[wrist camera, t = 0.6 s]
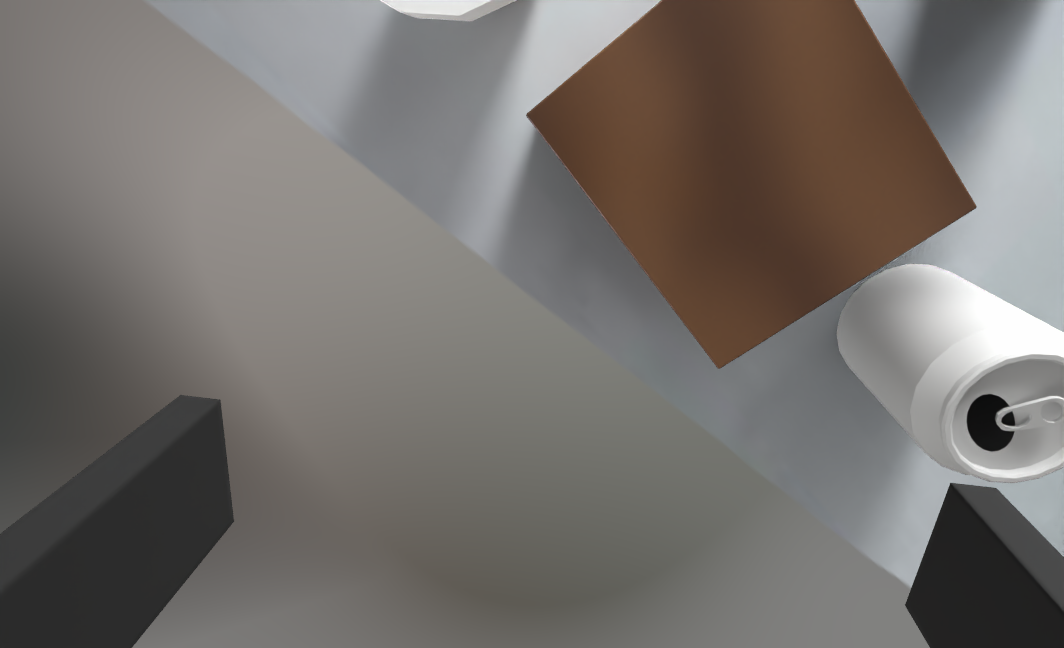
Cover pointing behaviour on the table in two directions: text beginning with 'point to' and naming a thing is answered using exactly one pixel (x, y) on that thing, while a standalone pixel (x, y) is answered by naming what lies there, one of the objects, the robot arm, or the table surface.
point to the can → (959, 371)
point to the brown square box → (752, 159)
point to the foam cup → (447, 8)
